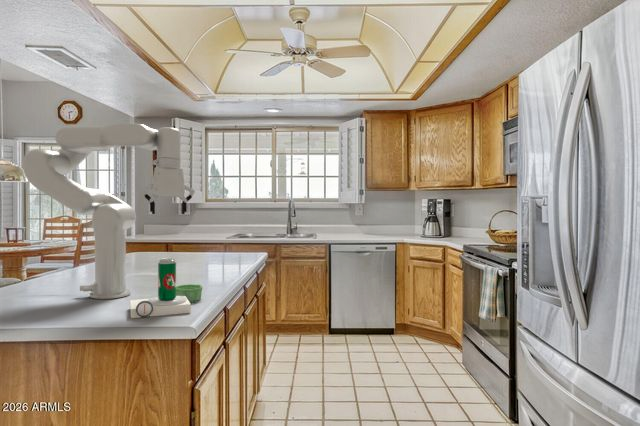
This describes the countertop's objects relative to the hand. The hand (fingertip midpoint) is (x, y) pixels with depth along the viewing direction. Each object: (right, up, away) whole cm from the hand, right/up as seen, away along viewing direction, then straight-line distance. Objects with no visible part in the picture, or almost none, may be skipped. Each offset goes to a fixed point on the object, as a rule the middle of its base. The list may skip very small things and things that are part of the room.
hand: (168, 214), depth 143 cm
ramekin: (+8, -29, -5) cm, 30 cm away
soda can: (+6, -26, -18) cm, 32 cm away
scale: (+5, -29, -19) cm, 35 cm away
